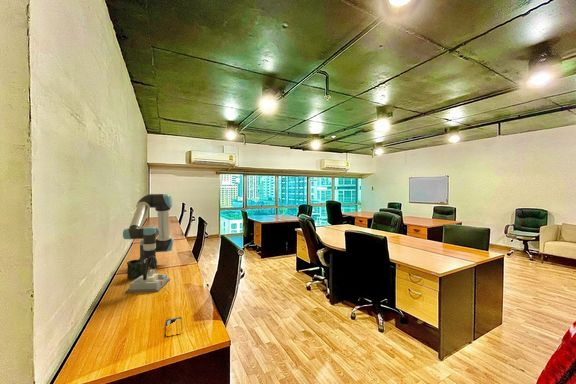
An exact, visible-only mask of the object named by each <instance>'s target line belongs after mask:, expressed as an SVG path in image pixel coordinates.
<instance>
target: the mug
mask: <svg viewBox="0 0 576 384" xmlns="http://www.w3.org/2000/svg"><path fill="white" fill-rule="evenodd" d="M126 265H127V269H126V271H127V272H126V273H127V275H126V277H127V280H136V279H137V278H138V277H140V276H141V272H142V265H143V260H141V259H132V260H128V261H127V262H126Z"/></svg>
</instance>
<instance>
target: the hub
mask: <svg viewBox="0 0 576 384" xmlns="http://www.w3.org/2000/svg"><path fill="white" fill-rule="evenodd" d="M158 274H159V273H158V272H157V273H155V274H152V276H151V277H148V282H156V281H157V280H158ZM140 283H143V276H142V277H141V278H140ZM163 283H164V280H161V285H162V284H163Z"/></svg>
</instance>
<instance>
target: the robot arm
mask: <svg viewBox="0 0 576 384" xmlns="http://www.w3.org/2000/svg"><path fill="white" fill-rule="evenodd" d="M151 208H153V209H155V211H156V212H157V226H158V227H156V226H146V227H143V224H144V220H145V217H146V216H147V212H148V211H149V209H151ZM171 208H173V199H172V196H171V194H168V193H150V194H146V195H144V196H143V197H141V198H140V199H139V200H138V202H137V203H136V210H135V211H134V214H133V217H132V219H131V222H130V224H129V227H128V228H124V230H122V237H123V239H124V240H140V239H141V240H140V241H139V257H138V258H139V259H141V260H143V265H142V272H141V275H143V282H148V274H147V273H148V269H149V268H151V269H152V274H156V270H157V268H158V267H157V266H158V265H157V264H158V259H157V254H156V253H165V252H171V251H172V250H173V247H174V241H175V240H174V238H173V237H172V235H170V219H169V218H170V217H169V216H170V213H169V212H170V210H171Z"/></svg>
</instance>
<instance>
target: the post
mask: <svg viewBox="0 0 576 384" xmlns="http://www.w3.org/2000/svg"><path fill="white" fill-rule="evenodd" d="M147 274H148V277H151V276H152V268H151V269H148V273H147Z"/></svg>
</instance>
